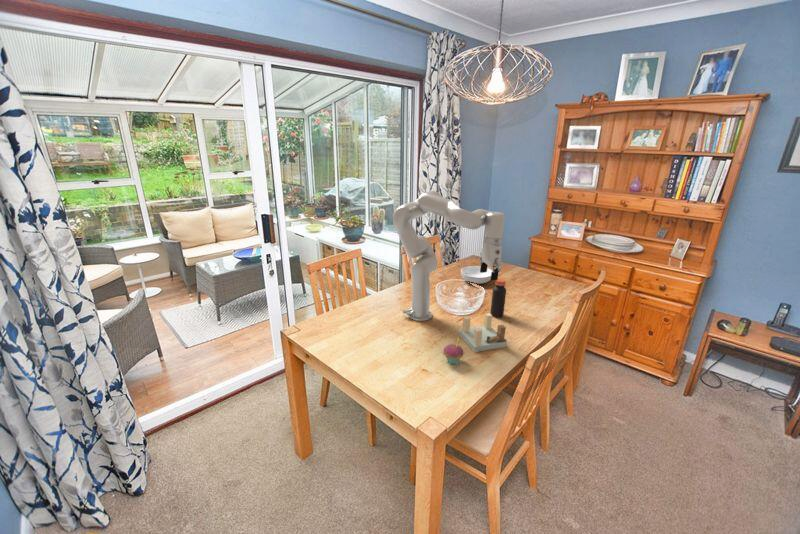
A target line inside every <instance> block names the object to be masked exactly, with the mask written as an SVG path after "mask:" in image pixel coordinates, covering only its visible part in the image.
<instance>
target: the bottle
mask: <svg viewBox="0 0 800 534" xmlns="http://www.w3.org/2000/svg"><path fill="white" fill-rule="evenodd" d="M494 284H495V286H493V287H492V293H491V303H490V311H489V313H490V314H491V315H492V318H503V316H504V312H505V304H506V296H507V289H506V279H504V278H498V280H495V283H494Z"/></svg>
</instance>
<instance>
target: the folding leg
mask: <svg viewBox="0 0 800 534" xmlns="http://www.w3.org/2000/svg"><path fill="white" fill-rule="evenodd" d="M506 328H507V327H506V326H505V325H504V324H499V325H497V330H496V332H497V336H494V337H490V336H487V342H491V341H498V340H499V341H502V340H504V338H505V336H506ZM505 339H506V338H505Z"/></svg>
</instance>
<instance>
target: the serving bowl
mask: <svg viewBox="0 0 800 534" xmlns="http://www.w3.org/2000/svg"><path fill="white" fill-rule="evenodd" d="M480 268H481V265H479V266H477V265H469V266H464V267H462V268H461V270H460V274H461V277H462V278H463V280H465V281H466V282H468V281H470V282H469V283H471V282H474V283H473V284H476V283H477V285H480V284H481V285H482V284H485V283H488V282H490V281H491V272H493V271H492V269H491V268H488V267H487V272H484V273H481V272H480Z"/></svg>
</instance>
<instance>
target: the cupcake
mask: <svg viewBox="0 0 800 534" xmlns="http://www.w3.org/2000/svg"><path fill="white" fill-rule="evenodd" d="M460 337H461V336H460V335H459V336H458V338H457V340H456V344H448V345H446V346H444V348H443V350H442V354H443V355H444V357H445V358H446V361H447V362H448V364H451V365H457V364H459V362H460V359H462V358H463V356H464V355H465V354H464V353H465V352H464V349H463V347H462V346H460V345H459V341H460Z"/></svg>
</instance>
